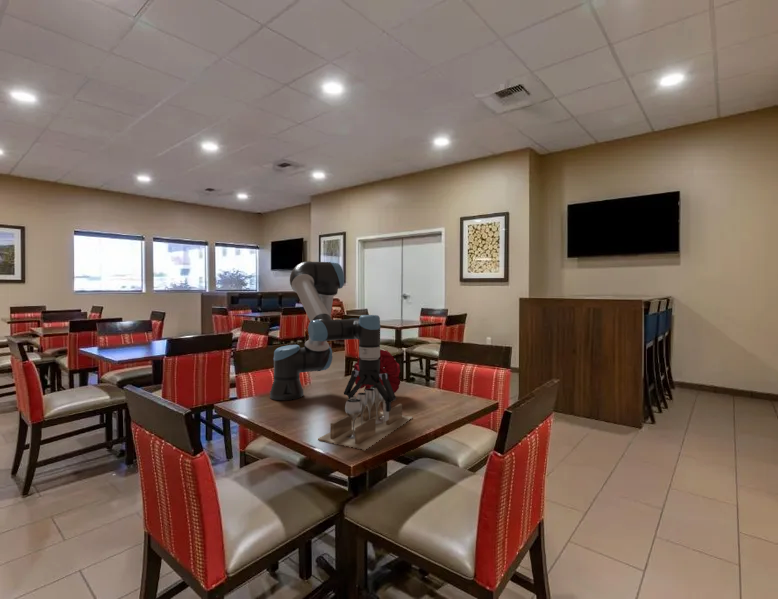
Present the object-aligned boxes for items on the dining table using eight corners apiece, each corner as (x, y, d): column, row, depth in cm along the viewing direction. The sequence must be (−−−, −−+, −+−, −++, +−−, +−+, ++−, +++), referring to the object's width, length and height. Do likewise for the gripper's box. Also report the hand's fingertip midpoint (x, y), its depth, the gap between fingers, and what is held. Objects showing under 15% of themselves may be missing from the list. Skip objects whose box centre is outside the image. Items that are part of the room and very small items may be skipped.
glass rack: (317, 440, 133) (317, 423, 133) (372, 411, 165) (372, 398, 165) (364, 450, 125) (365, 432, 125) (412, 418, 157) (412, 404, 157)
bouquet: (352, 405, 199) (350, 387, 173) (357, 359, 210) (355, 336, 184) (396, 408, 199) (400, 391, 173) (398, 362, 210) (403, 340, 184)
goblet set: (379, 414, 159) (379, 381, 159) (393, 416, 157) (393, 382, 157) (341, 437, 134) (341, 398, 134) (356, 440, 132) (356, 400, 131)
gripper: (334, 357, 147) (334, 415, 148) (396, 362, 136) (395, 426, 136) (346, 354, 154) (345, 409, 154) (405, 359, 142) (405, 419, 143)
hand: (369, 417), depth 145 cm, fingers open, 13 cm apart
